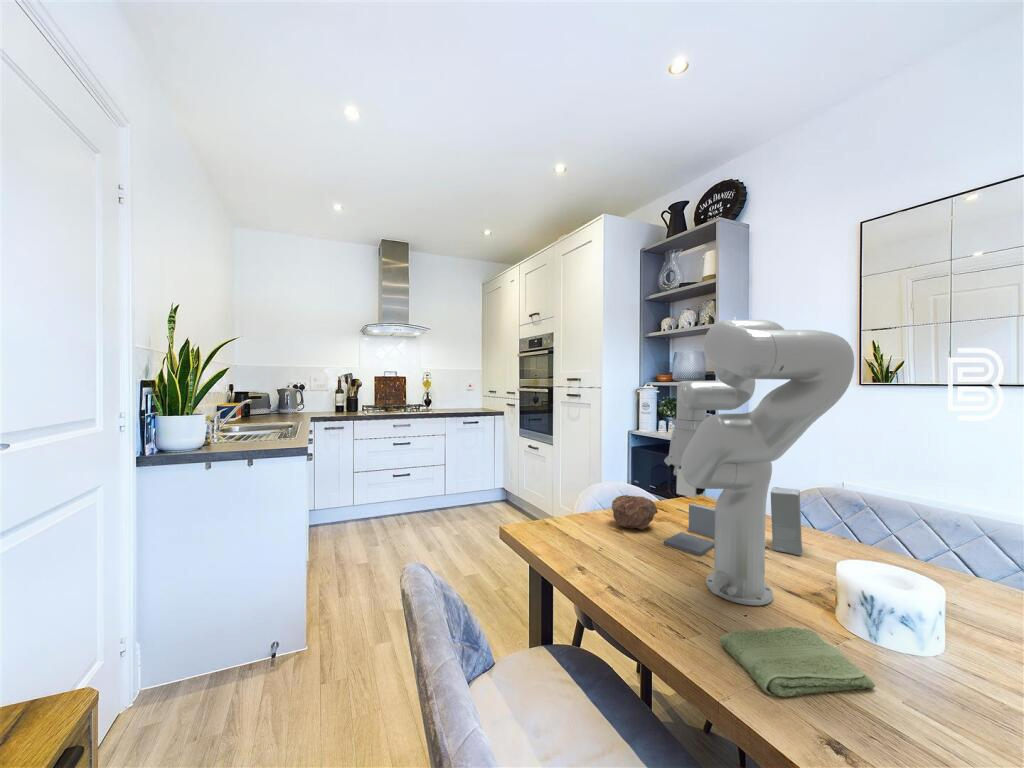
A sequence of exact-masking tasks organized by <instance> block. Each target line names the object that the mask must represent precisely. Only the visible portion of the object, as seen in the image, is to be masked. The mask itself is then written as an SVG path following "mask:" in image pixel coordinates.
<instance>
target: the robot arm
mask: <svg viewBox="0 0 1024 768" xmlns="http://www.w3.org/2000/svg"><path fill="white" fill-rule="evenodd" d="M703 342H704V343H703V348H704V352H705V353H704V354H705V355H706V357H707V358H708V359H709V361H711V362H712V368H713V369H712V370H713V372H714V375H715V376H716V378H717V379H718V380H682V381H679V382H678V384H677V387H676V417H675V419H672V421H671V424H672V425H675V428H674V429H672V433H671V437H670V443H669V444H670V445H669V451H668V455H667V456H666V457H665V458H664V459H663V461H664V463H665V464H666V465H667V466H668V467H669V469H670V470H671V471H672V473H673V475H674V485H675V490H676V491H677V468H680V467H681V471H682V475H683V477H684V479H685V480H686V482H687V483H688V484H690V485H691V486H693V487H695V488H696V494H697V495H700V494H702V493H703V494H704V492H705V491H706V490H710V489H711V490H712V489H713V490H722V491H721V492H720V494H719V495H718V498H717V500H716V503H715V507H714V509H715V539H714V541H713V542H714V548H713V549H714V550H713V551H714V554H713V559H714V560H713V562H714V563H713V565H714V566H713V572H712V573H709V574H708V575H706V578H705V583H706V587H707V588H708V590H710V591H711V593H712V594H713V595H716V596H718V597H719V598H722V599H724V600H727V601H730V602H732V603H736V604H740V605H746V606H757V607H758V606H765V605H768V604H770V603H771V602H772V601H773V599H774V592H773V589H772V588H771V587H770V586H768V585H767V584H766V583H765V570H766V569H765V564H766V563H765V562H766V513H767V512H766V511H767V499H768V492H769V488H770V482H771V478H772V475H773V474H772V473H773V464H772V462H775V461H777V460H779V459H780V458H782V456H783V455H784V454H785V453H787V451H789V450H790V448H791V447H792V446H793V445H794V444H795V443H796V442H797V441H798V440H799V439H800V438H801V436H803V435H804V433H805V432H806V431H807V430H808V429H809V428H811V426H812V425H813V424H814V423H815V422H816V421H817V420H819V419H820V418H821V417H822V416H823V415H825V413H827V412H828V411H830V410H831V409H832V408H833V407H834V406H835V405H836V404H837V403H838V402H839V401H840V400H841V399H842V397H843V396H844V394H845V393H846V391H847V390H848V388H849V387H850V384H851V382H852V378H853V374H854V370H855V355H854V351H853V348H852V346H851V344H850V343H849V342H848V340H846V339H845V338H843V336H841V335H838V334H835V333H832V332H827V331H823V330H815V329H785V328H784V327H783V326H782V325H780V324H779V323H777V322H775V321H771V320H764V319H724V320H719V321H717V322H716V323H714V324H713V325H712V326H711V327H710V328H709V329H708V331H707V332H706V334H705V337H704V341H703ZM756 380H788V381H787V382H785V383H784V384H783V383H782V384H780V386H777V387H776V388H774V389H772V390H771V391H769V392H768V393H767V394H765V396H763V397H762V399H761V400H760V402H759V403H758V404H757V405H756V407H755V408H754V409H753V410H752V411H750V412H745V413H715V414H712V415H710V416H708V417H707V411H731V410H736V409H739V408H740V407H742V406H743V405H745V404H746V403H747V402H749V401H750V400H751V399H752V398H753V396H754V392H755V390H756ZM703 494H702V495H703ZM700 496H701V495H700Z"/></svg>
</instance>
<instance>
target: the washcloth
mask: <svg viewBox="0 0 1024 768" xmlns="http://www.w3.org/2000/svg"><path fill="white" fill-rule="evenodd" d="M719 643H720V644H721V646H722V647H723V648H724V649H725V651H727V652H728V653H729V654H730V655H731V656H732V657H733V658H734V660H735V661H736V662H737V663H738V665H741V666H742V667H743V668H744V669H745V670H746V672H748V673H749V675H750V678H752V680H754V681H756V683H757V685H758V686H759V687H760V689H761V691H763V692H765V693H766V694H767V695H769V696H771V697H782V698H787V697H794V696H795V697H796V696H797V697H798V696H799V697H800V696H805V695H815V694H823V693H829V692H834V693H837V692H840V691H841V692H842V691H850V690H854V689H855V690H861V689H862V690H865V689H868V688H869V689H872V690H873V689H874V688H876V683H875V682H874V681H873V679H871V678H870V677H869V676H868V675H867V674H865V672H864V671H863V670H862V669H861V668H859V667H858V666H857V665H855V664H854V663H853V662H852V661H851V660H849V659H847V657H846V656H845V655H844V653H843V652H841V651H840V649H838V647H837V646H834V645H832V644H830V643H828V642H827V641H826V640H824V639H823V638H822V636H821V635H820V634H819V633H818V632H817V631H814V630H812V629H810V628H809V629H808V628H800V627H792V626H788V627H781V628H780V627H778V628H769V629H768V628H766V629H759V630H754V629H752V630H749V629H745V630H734V631H733V630H731V631H728V632H726V633H723V634H722V635H721V636H720V638H719Z"/></svg>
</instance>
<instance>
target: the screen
mask: <svg viewBox="0 0 1024 768" xmlns="http://www.w3.org/2000/svg"><path fill="white" fill-rule="evenodd" d="M688 532H690V533H694V534H697V535H701V536H703V537H708V538H711V539H714V540H715V507H714V508H713V507H709V506H705V505H701V504H696V503H690V504H688Z"/></svg>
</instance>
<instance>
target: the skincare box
mask: <svg viewBox="0 0 1024 768" xmlns="http://www.w3.org/2000/svg"><path fill="white" fill-rule="evenodd" d="M770 512H771V513H770V516H771V533H772V535H771V536H772V539H771V540H772V541H771V542H772V550H773V551H776V552H781V553H782V552H783V553H787V554H791V555H796V556H799V557H801V556H802V554H803V553H802V552H803V542H802V541H803V540H802V539H803V538H802V522H801V521H802V520H801V519H802V518H801V514H802V513H801V490H800V489H798V488H796V489H795V488H785V487H776V486H773V487H772V488H771V490H770Z"/></svg>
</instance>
